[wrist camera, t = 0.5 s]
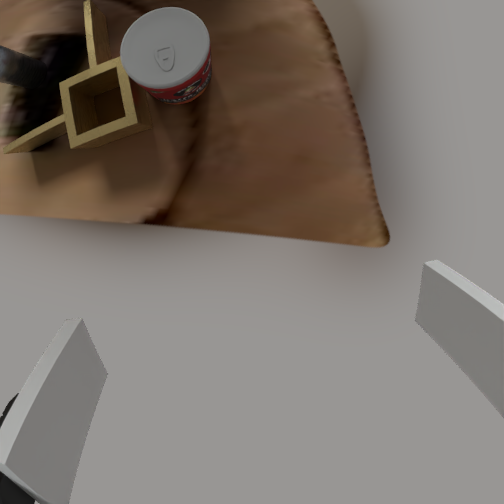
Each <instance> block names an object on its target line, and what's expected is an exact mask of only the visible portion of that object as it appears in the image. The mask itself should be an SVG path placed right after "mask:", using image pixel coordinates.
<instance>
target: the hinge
mask: <svg viewBox="0 0 504 504" xmlns="http://www.w3.org/2000/svg"><path fill="white" fill-rule="evenodd" d="M83 3H84V18H85V30H86V41H87V50H88V58H89V65H90V69H88V70H86V71H83V72H81V73H79V74H77V75H75V76H73V77H71V78H69V79H67V80H65V81H63V82H61V83H59V84H60V92H61V99H62V105H63V111H64V114H63V115H61V116H59V117H57V118H55V119H53V120H51V121H49V122H47V123H45V124H43V125H41V126H40V127H38V128H36V129H34V130H32V131H30V132H29V133H27V134H25V135H23V136H22V137H20V138H18V139H17V140H15V141H13V142H12V143H10V144H9V145H7V146H5V147H4V148H3V151H4V154H10V153H19V152H29V151H32V150H34V149H35V148H37V147H39V146H41V145H43V144H45V143H47V142H49V141H51V140H53V139H55V138H57V137H59V136H61V135H64V134H66V133H68V138H69V143H70V147H71V149H75V148H97V147H99V146H102V145H104V144H107V143H110V142H112V141H115V140H118V139H121V138H124V137H126V136H129V135H132V134H135V133H138V132H141V131H144V130H147V129H151V128H153V126H152V122H151V117H150V113H149V108H148V103H147V99H146V94H145V89H144V88H142V87H141V86H140V85H138V84H137V83H136V82H135V81H134V80H132V78H131V77H130V76H129V75H128V74H127V73H126V71H125V69H124V67H123V65H122V62H121V57H117V58H115V59H111V52H110V45H109V38H108V30H107V22H106V17H105V15H104V14H103V13H102V12H101V11H100V10H99V9H98V8H97V7H96V5H95V4H94V3H93V2H92V1H91V0H87V1H85V2H83ZM119 86H120V89H121V95H122V100H123V105H124V110H125V114H126V117H123V118H120V119H118V120H115V121H112V122H110V123H107V124H105V125H102V126H99V123H98V119H97V114H96V108H95V103H94V96H96V95H99V94H101V93H103V92H106V91H108V90H111V89H114V88H116V87H119Z"/></svg>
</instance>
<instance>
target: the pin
mask: <svg viewBox="0 0 504 504" xmlns="http://www.w3.org/2000/svg"><path fill="white" fill-rule="evenodd" d="M46 72H47V68H46V65H45V63H44V62H41V61H39V60H37V59H34V58H32V57H29V56H27V55H24V54H22V53H19V52H16V51H14V50H11V49H9V48H6V47H3V46H0V82H1V83H6V84H11V85H15V86H20V87H24V88H28V89H34V88H36V87H38V86H39V85H40V84H41V83H42V82H43V80H44V78H45V76H46Z"/></svg>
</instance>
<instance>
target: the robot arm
mask: <svg viewBox="0 0 504 504" xmlns="http://www.w3.org/2000/svg"><path fill="white" fill-rule="evenodd" d="M415 321H416V322H417V323H418V324H419V325H420V326H421V327H422V328H423V330H425V331H426V333H428V334H429V336H430V337H431V338H432V339H433V340H434V341H435V342H436V343H437V344H438V345H439V346H440V347H441V348H442V349H443V350H444V351H445V352H446V353H447V354H448V355H449V357H450V358H451V359H452V360H453V361H454V362H455V363H456V364H457V365H458V366H459V367H460V368H461V370H462V371H463V372H464V373H465V374H466V375H467V376H468V377H469V378H470V380H471V381H472V382H473V383H474V384H475V385H476V386H477V387H478V388H479V390H480V391H481V392H482V393H483V394H484V395H485V397H486V398H487V399H488V400H489V401H490V402H491V404H492V405H493V406H494V407H495V408H496V410H497V411H498V412H499V413H500V414H501V416H502V417H503V418H504V304H502V303H501V302H499V301H498V300H497V299H495V298H494V297H493V296H491V295H490V294H488V293H487V292H485V291H484V290H483V289H481V288H480V287H478V286H477V285H475V284H474V283H472V282H471V281H469V280H468V279H466V278H465V277H463V276H462V275H460V274H459V273H457V272H456V271H454V270H453V269H451V268H449V267H448V266H446V265H445V264H443V263H442V262H440V261H439V260H433V261H429V262H425V263H423V272H422V280H421V288H420V294H419V301H418V307H417V313H416V318H415ZM107 375H108V373H107V371H106V369H105V368H104V365H103V363H102V361H101V359H100V357H99V355H98V353H97V351H96V349H95V346H94V344H93V342H92V340H91V338H90V335H89V333H88V331H87V328H86V326H85V324H84V321H83V319H82V318H78V319H68V320H66V321H65V322H64V324H63V325H62V327H61V328H60V329H59V331H58V332H57V334H56V335H55V337H54V338H53V340H52V341H51V343H50V344H49V346H48V347H47V349H46V350H45V352H44V353H43V355H42V356H41V358H40V360H39V361H38V363H37V364H36V366H35V368H34V369H33V371H32V372H31V374H30V376H29V377H28V379H27V381H26V382H25V384H24V386H23V387H22V389H21V391H20V393H18V394H17V395H16V396H15V397H14V398H13V399H12V400H11V401H10V402H9V403H8V405H7V406H6V408H5V410H4V412H3V416H1V417H0V504H34V502H35V500H36V501H37V502H38V503H40V504H69V500H70V496H71V492H72V488H73V483H74V480H75V476H76V472H77V468H78V464H79V461H80V457H81V454H82V450H83V447H84V443H85V440H86V437H87V434H88V430H89V427H90V424H91V421H92V418H93V415H94V412H95V409H96V406H97V403H98V400H99V397H100V394H101V392H102V388H103V386H104V383H105V380H106V378H107Z"/></svg>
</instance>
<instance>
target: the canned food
mask: <svg viewBox="0 0 504 504" xmlns="http://www.w3.org/2000/svg"><path fill="white" fill-rule="evenodd" d="M120 57H121V62H122V65H123V67H124V69H125V71H126V73H127V74H128V75H129V76H130V77H131V78H132V80H134V81H135V82H136V83H137V84H138V85H140V86H141V87H142V88H144V89H145V90H146V91H147V92H149V93H150V94H151V95H153V96H154V97H155V98H157V99H158V100H160V101H162V102H164V103H167V104H184V103H187V102H190V101H192V100H194V99H195V98H197V97H198V96H199V95H201V94H202V93H203V91H204V90H205V89H206V87H207V86H208V84H209V81H210V78H211V46H210V38H209V34H208V31H207V28H206V26H205V24H204V23H203V21H202V20H201V19H200V18H199V17H198V16H197V15H196V14H194V13H192V12H190V11H188V10H185V9H182V8H177V7H164V8H160V9H156V10H153V11H150V12H148V13H146V14H144V15H143V16H141V17H140V18H139V19H137V20H136V21H135V22H134V23H133V24H132V25H131V26H130V27H129V29H128V30H127V32H126V34H125V35H124V38H123V40H122V43H121V49H120Z"/></svg>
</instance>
